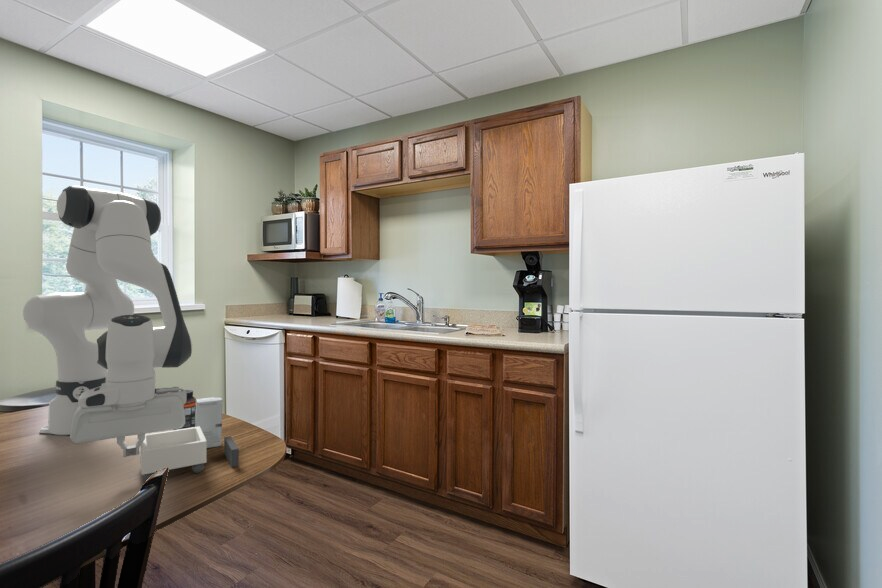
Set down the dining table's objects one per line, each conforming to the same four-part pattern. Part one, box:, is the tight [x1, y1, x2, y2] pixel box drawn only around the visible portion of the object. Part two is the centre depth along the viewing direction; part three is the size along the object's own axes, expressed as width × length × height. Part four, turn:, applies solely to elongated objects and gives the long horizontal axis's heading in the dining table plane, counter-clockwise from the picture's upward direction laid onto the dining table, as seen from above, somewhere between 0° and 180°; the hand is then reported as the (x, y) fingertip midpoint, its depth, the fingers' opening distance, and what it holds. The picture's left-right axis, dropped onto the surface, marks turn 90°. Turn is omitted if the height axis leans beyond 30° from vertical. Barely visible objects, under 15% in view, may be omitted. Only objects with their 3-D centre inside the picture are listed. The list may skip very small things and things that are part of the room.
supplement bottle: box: [173, 389, 197, 430], centre depth 128 cm, size 6×6×11 cm
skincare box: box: [195, 396, 224, 449], centre depth 117 cm, size 6×4×12 cm
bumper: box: [223, 436, 240, 468], centre depth 108 cm, size 10×2×4 cm, turn 35°
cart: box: [140, 426, 208, 482], centre depth 101 cm, size 12×12×7 cm
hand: (131, 455), depth 97 cm, fingers closed
